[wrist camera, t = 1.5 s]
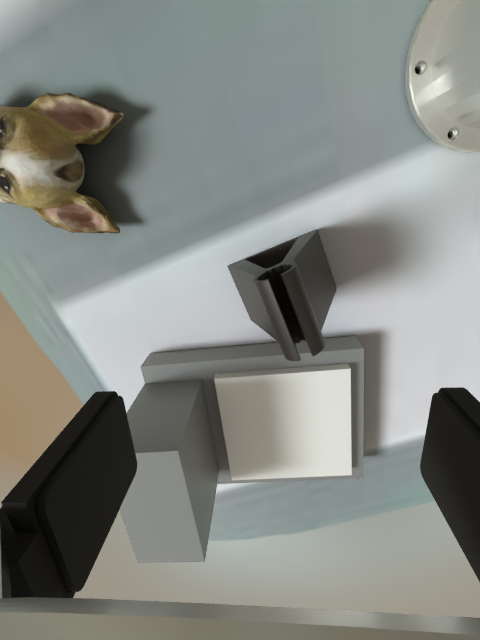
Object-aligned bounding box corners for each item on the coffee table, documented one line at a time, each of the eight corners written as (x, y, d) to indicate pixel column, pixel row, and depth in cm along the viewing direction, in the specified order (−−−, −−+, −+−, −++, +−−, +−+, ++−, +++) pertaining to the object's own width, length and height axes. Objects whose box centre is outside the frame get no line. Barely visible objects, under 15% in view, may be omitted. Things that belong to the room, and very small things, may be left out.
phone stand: (316, 229, 30) (348, 249, 19) (335, 287, 32) (374, 337, 21) (227, 264, 32) (208, 302, 21) (250, 318, 34) (244, 379, 23)
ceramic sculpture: (-160, 33, 20) (92, 83, 21) (-43, 77, 28) (134, 112, 29) (-118, 216, 24) (92, 251, 25) (-26, 208, 32) (129, 235, 33)
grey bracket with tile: (355, 335, 34) (407, 414, 22) (356, 457, 39) (397, 574, 27) (150, 353, 36) (93, 433, 24) (177, 466, 42) (142, 577, 30)
